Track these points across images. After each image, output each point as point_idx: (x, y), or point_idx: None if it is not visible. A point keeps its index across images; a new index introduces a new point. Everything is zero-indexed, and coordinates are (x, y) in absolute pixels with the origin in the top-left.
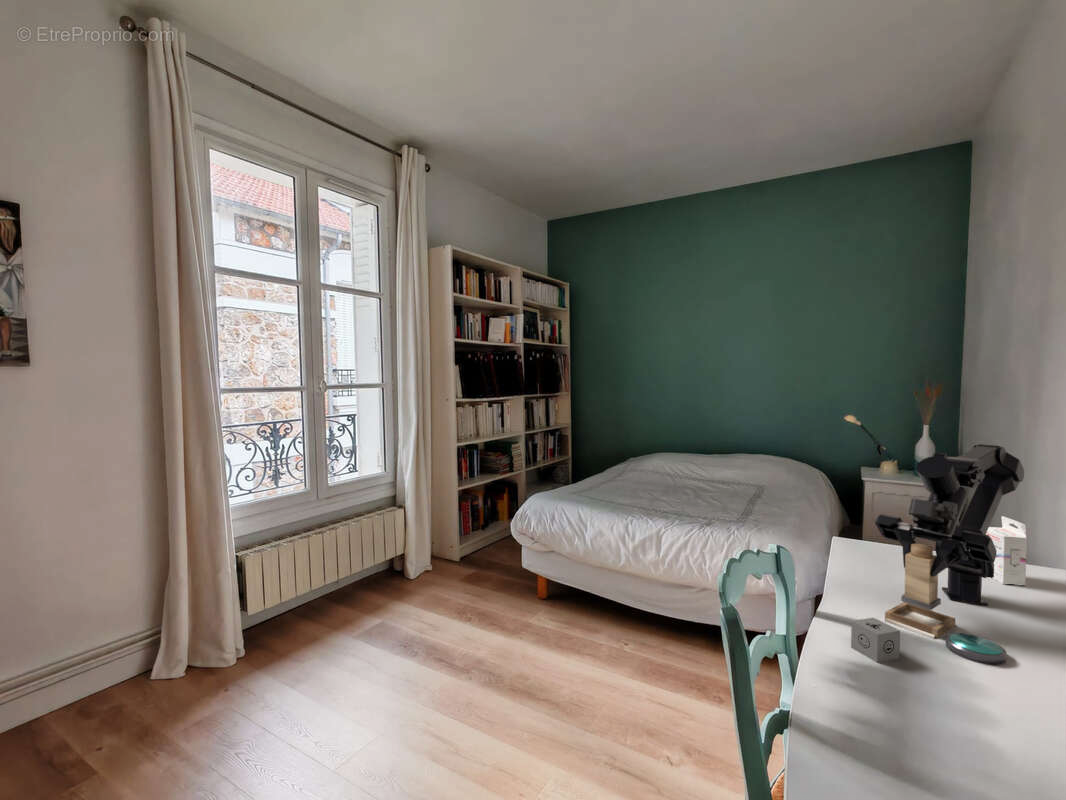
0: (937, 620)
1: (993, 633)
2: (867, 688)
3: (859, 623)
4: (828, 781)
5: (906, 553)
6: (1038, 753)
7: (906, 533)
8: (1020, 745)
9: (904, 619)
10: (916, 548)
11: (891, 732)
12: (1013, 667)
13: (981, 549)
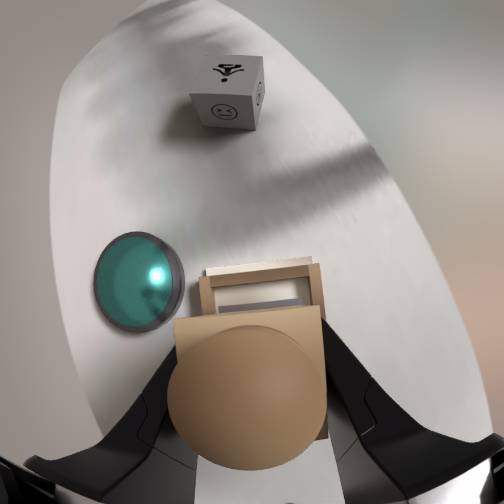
0: None
1: None
2: (192, 45)
3: (248, 58)
4: None
5: (341, 369)
6: (65, 106)
7: (416, 470)
8: (74, 101)
9: (272, 269)
10: (249, 330)
11: (151, 28)
12: (93, 281)
13: (27, 483)
